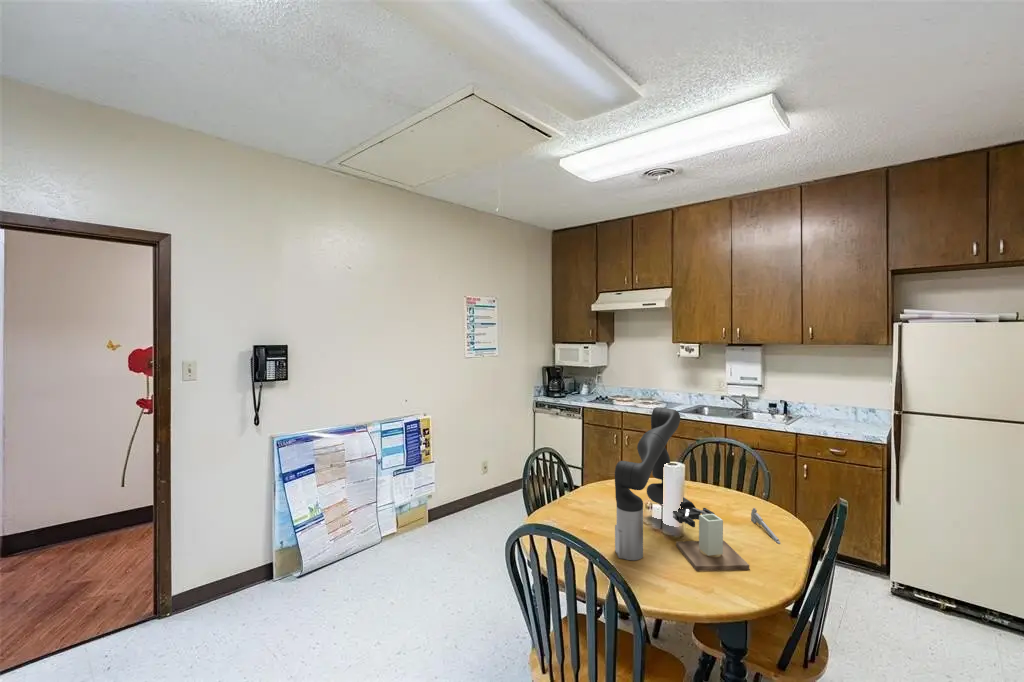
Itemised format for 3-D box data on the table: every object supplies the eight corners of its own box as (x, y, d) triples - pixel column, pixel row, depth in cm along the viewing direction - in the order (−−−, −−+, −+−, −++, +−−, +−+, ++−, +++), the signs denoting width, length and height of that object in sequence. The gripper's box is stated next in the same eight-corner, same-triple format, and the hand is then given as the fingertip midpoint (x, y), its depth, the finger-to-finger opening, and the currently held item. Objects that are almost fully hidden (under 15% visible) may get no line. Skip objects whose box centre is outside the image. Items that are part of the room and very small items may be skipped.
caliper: (750, 521, 197) (751, 506, 196) (753, 521, 197) (753, 506, 196) (777, 544, 176) (778, 528, 176) (780, 544, 176) (781, 528, 176)
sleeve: (708, 555, 164) (708, 521, 163) (698, 548, 169) (699, 515, 169) (722, 553, 165) (723, 520, 164) (713, 546, 170) (713, 513, 170)
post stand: (696, 570, 158) (696, 537, 157) (676, 545, 176) (676, 515, 175) (749, 569, 158) (749, 536, 158) (723, 544, 176) (724, 514, 176)
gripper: (663, 498, 184) (687, 515, 168) (697, 495, 187) (722, 511, 171) (663, 517, 185) (687, 535, 169) (696, 514, 187) (722, 532, 172)
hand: (705, 523), depth 170 cm, fingers open, 8 cm apart
